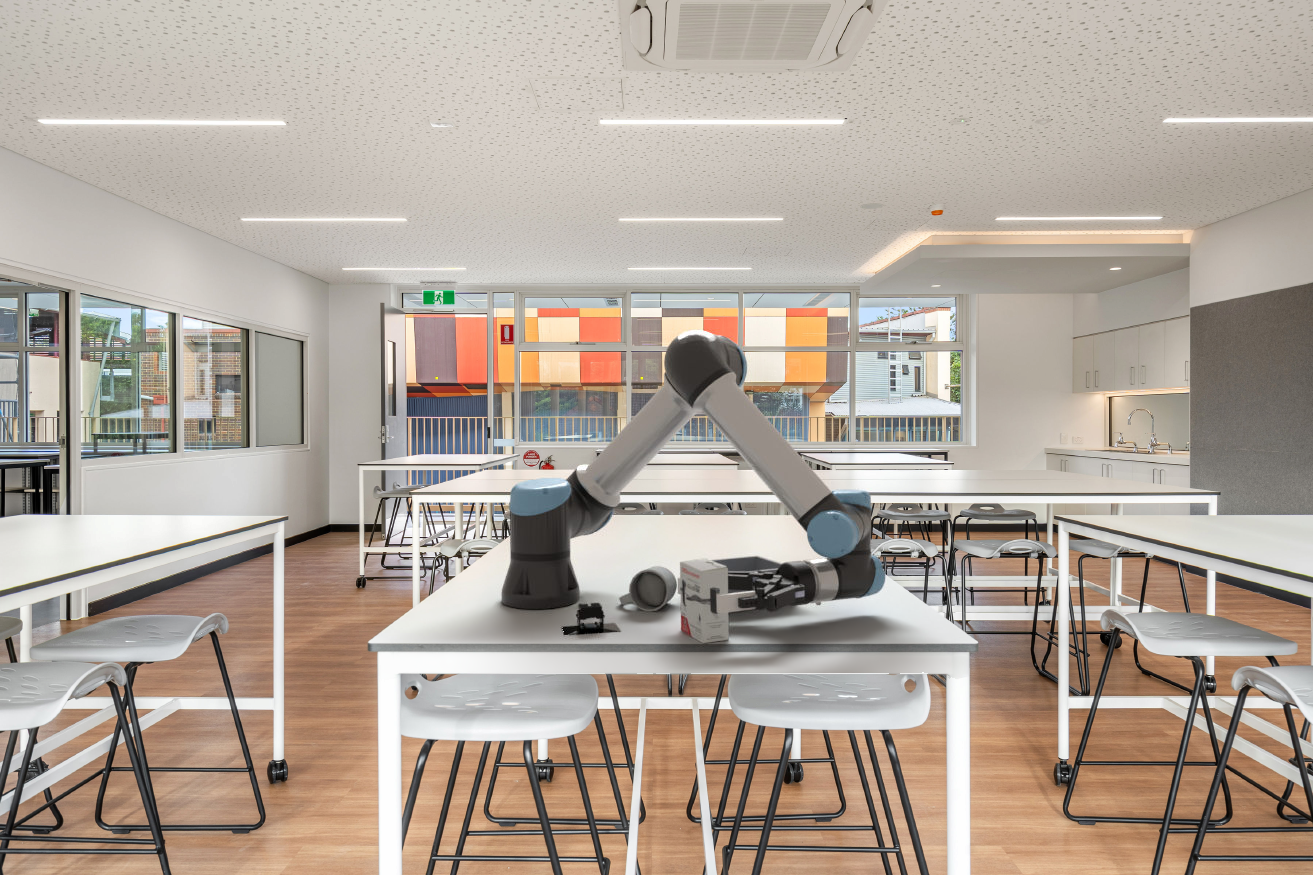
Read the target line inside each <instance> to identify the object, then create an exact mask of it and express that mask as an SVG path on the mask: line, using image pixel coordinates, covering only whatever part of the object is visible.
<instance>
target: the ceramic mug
mask: <svg viewBox="0 0 1313 875" xmlns="http://www.w3.org/2000/svg"><path fill="white" fill-rule="evenodd" d="M628 587H629V588H628V593H626V594H624V595H621V596H620V597H618V600H619V602H620V605H621V606H625V605H628V604H630V603H632V604H634V606H636V608H638V609H639V610H641V611H645V612H649V611H652V612H656V611H659V610H660V609H662V608H663V607H664V606H665V605H666V604H667V603H669V602H670V601H671V600H672V598H674V596H675V594H676V592H677V590H678V581H677V578H676V576H675V575H674V573H673V572H672V571H671V570H670V569H669V568H668V567H667V568H666V567H664V566H661V565H658V566H657V565H654V566H651V567H648V568H646V569H643V570H640V571H639V572H636V574H635V575H634V576H633V577H632V579H631V581H630V583H629V586H628Z"/></svg>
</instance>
